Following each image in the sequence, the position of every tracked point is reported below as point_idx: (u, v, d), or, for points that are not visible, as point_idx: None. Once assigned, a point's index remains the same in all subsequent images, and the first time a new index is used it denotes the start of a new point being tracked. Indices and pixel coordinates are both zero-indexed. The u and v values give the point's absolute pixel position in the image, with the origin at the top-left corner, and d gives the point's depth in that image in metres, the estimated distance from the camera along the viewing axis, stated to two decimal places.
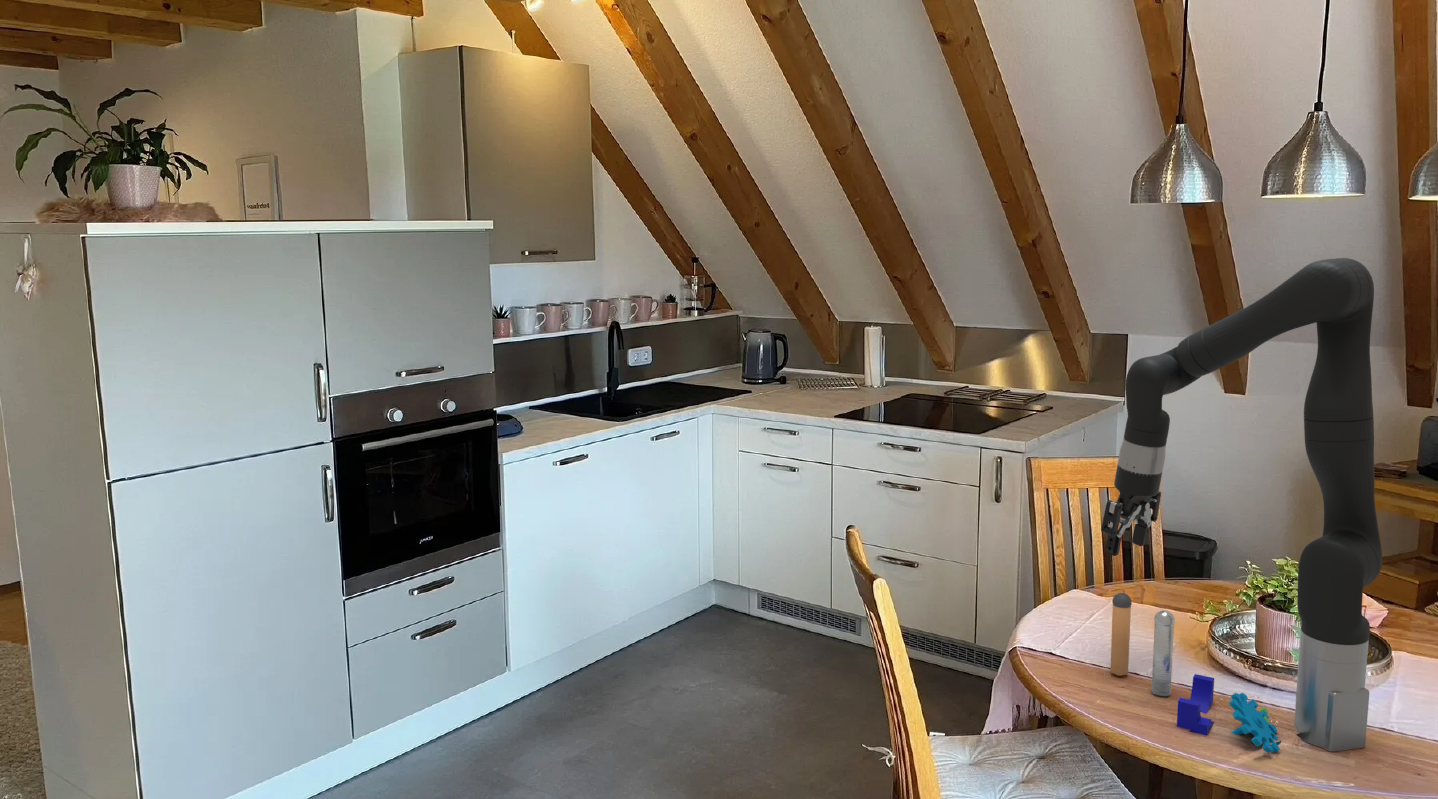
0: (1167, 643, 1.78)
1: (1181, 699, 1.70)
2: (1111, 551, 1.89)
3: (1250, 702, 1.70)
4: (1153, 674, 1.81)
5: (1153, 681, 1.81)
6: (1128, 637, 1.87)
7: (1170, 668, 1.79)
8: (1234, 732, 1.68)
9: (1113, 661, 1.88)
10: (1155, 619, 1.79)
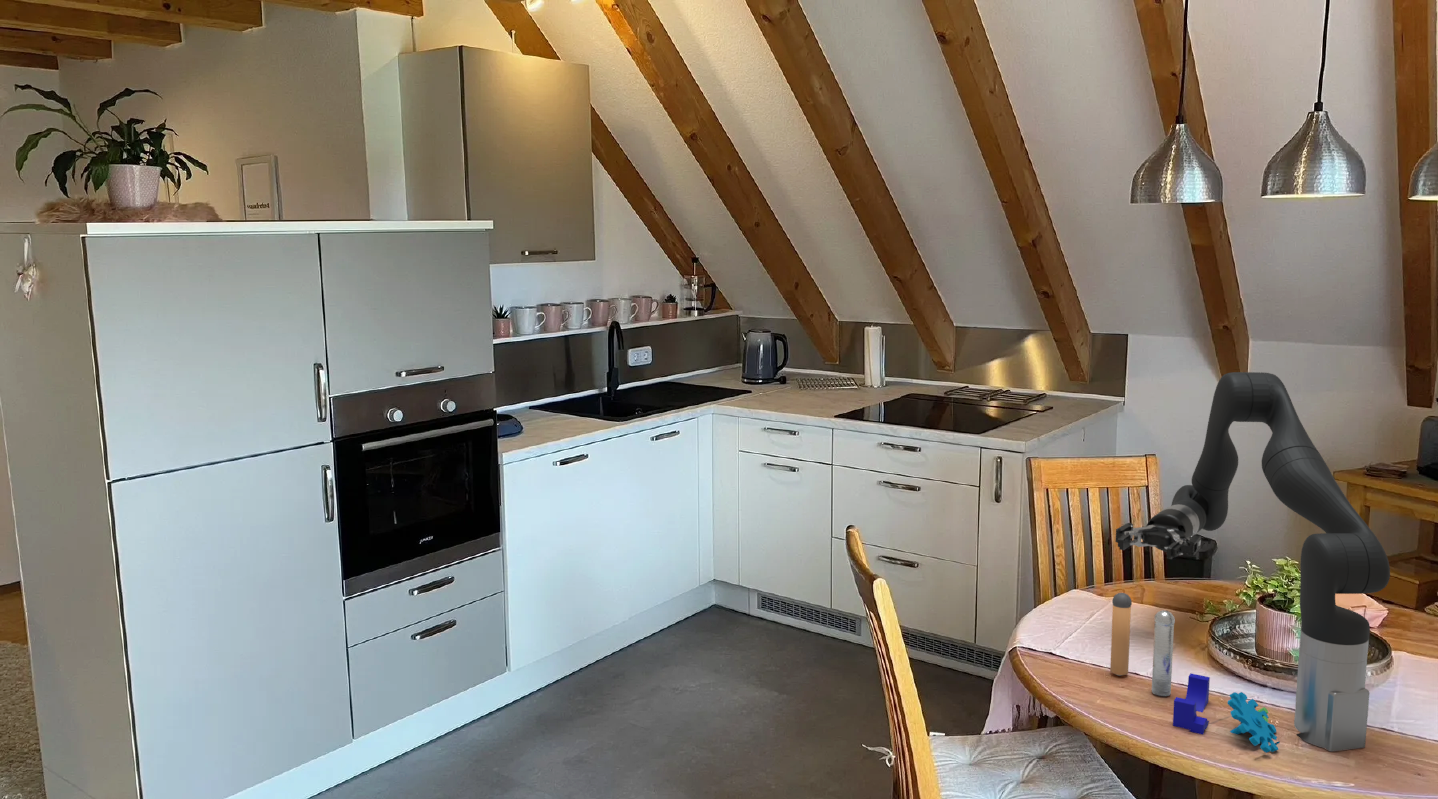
0: (1167, 643, 1.78)
1: (1177, 698, 1.70)
2: (1117, 540, 1.98)
3: (1249, 702, 1.70)
4: (1153, 674, 1.81)
5: (1153, 681, 1.81)
6: (1128, 637, 1.87)
7: (1170, 668, 1.79)
8: (1233, 731, 1.68)
9: (1113, 661, 1.88)
10: (1155, 619, 1.79)
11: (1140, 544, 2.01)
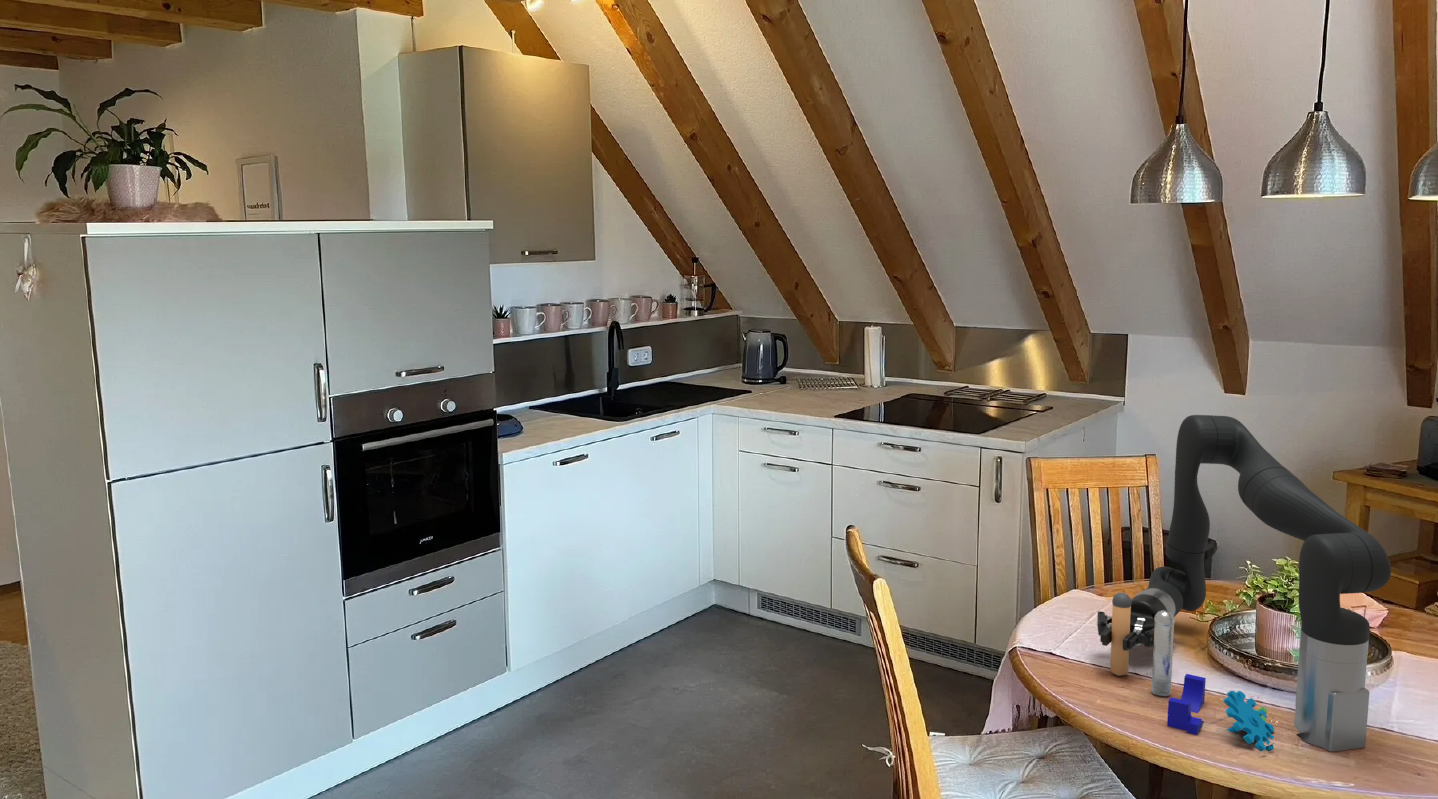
0: (1167, 643, 1.78)
1: (1172, 699, 1.70)
2: (1100, 635, 1.88)
3: (1248, 701, 1.70)
4: (1153, 674, 1.81)
5: (1153, 681, 1.81)
6: None
7: (1170, 668, 1.79)
8: (1229, 729, 1.69)
9: (1113, 661, 1.88)
10: (1155, 619, 1.79)
11: None
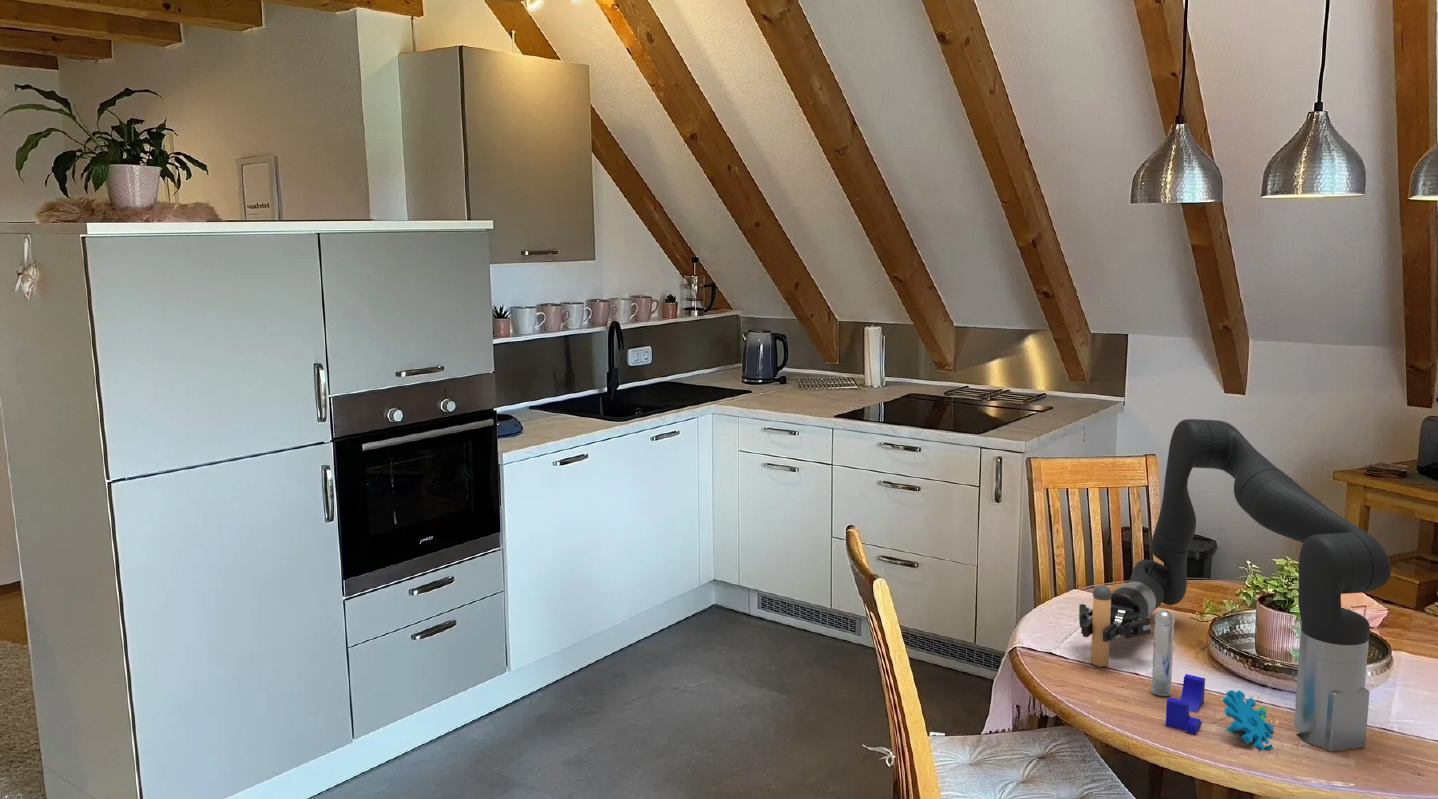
0: (1167, 643, 1.78)
1: (1170, 699, 1.70)
2: (1081, 627, 1.92)
3: (1248, 700, 1.70)
4: (1153, 674, 1.81)
5: (1153, 681, 1.81)
6: None
7: (1170, 668, 1.79)
8: (1229, 729, 1.69)
9: (1094, 652, 1.92)
10: (1155, 619, 1.79)
11: None
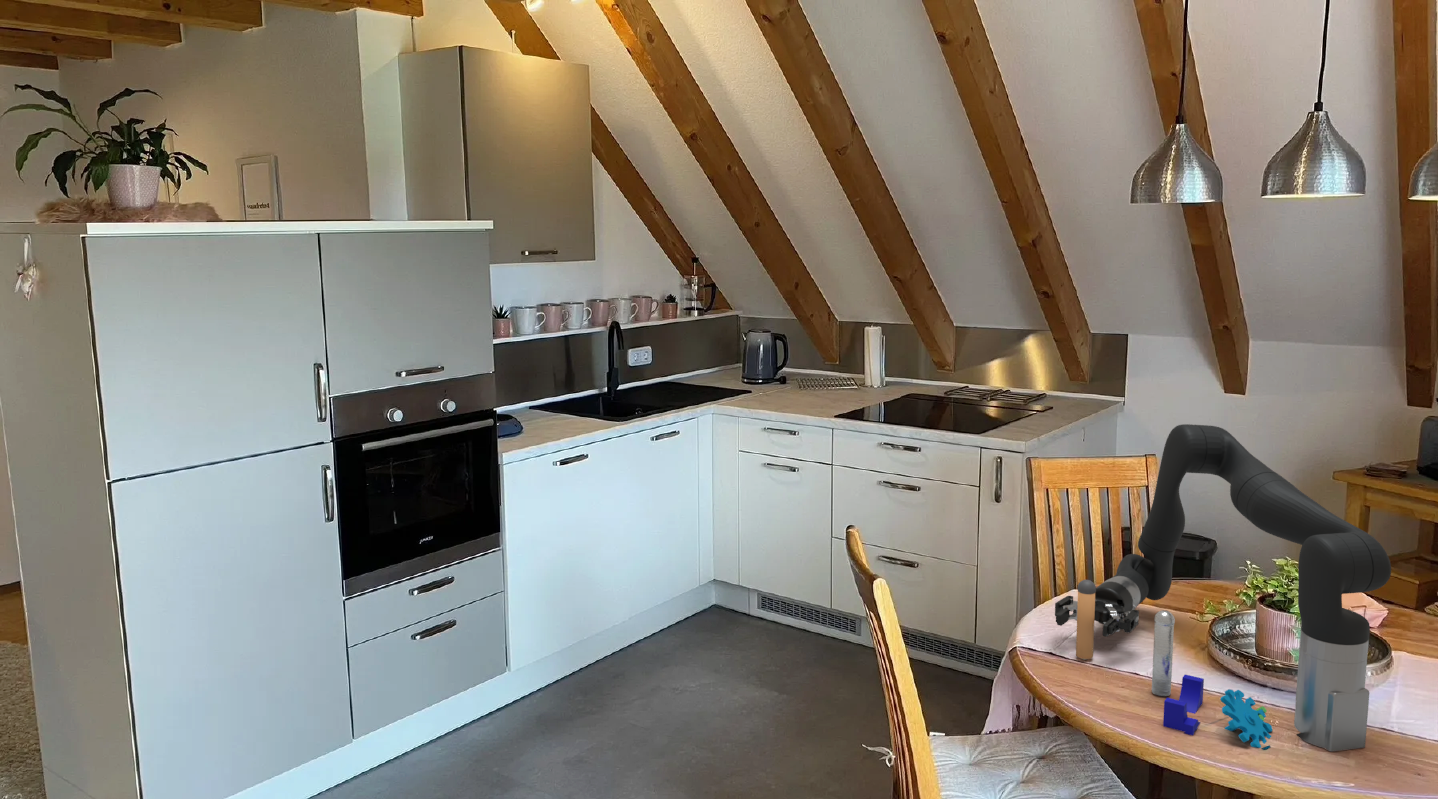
0: (1167, 643, 1.78)
1: (1168, 699, 1.70)
2: (1055, 615, 1.98)
3: (1247, 700, 1.71)
4: (1153, 674, 1.81)
5: (1153, 681, 1.81)
6: (1093, 622, 1.94)
7: (1170, 668, 1.79)
8: (1227, 728, 1.69)
9: (1078, 646, 1.95)
10: (1155, 619, 1.79)
11: None
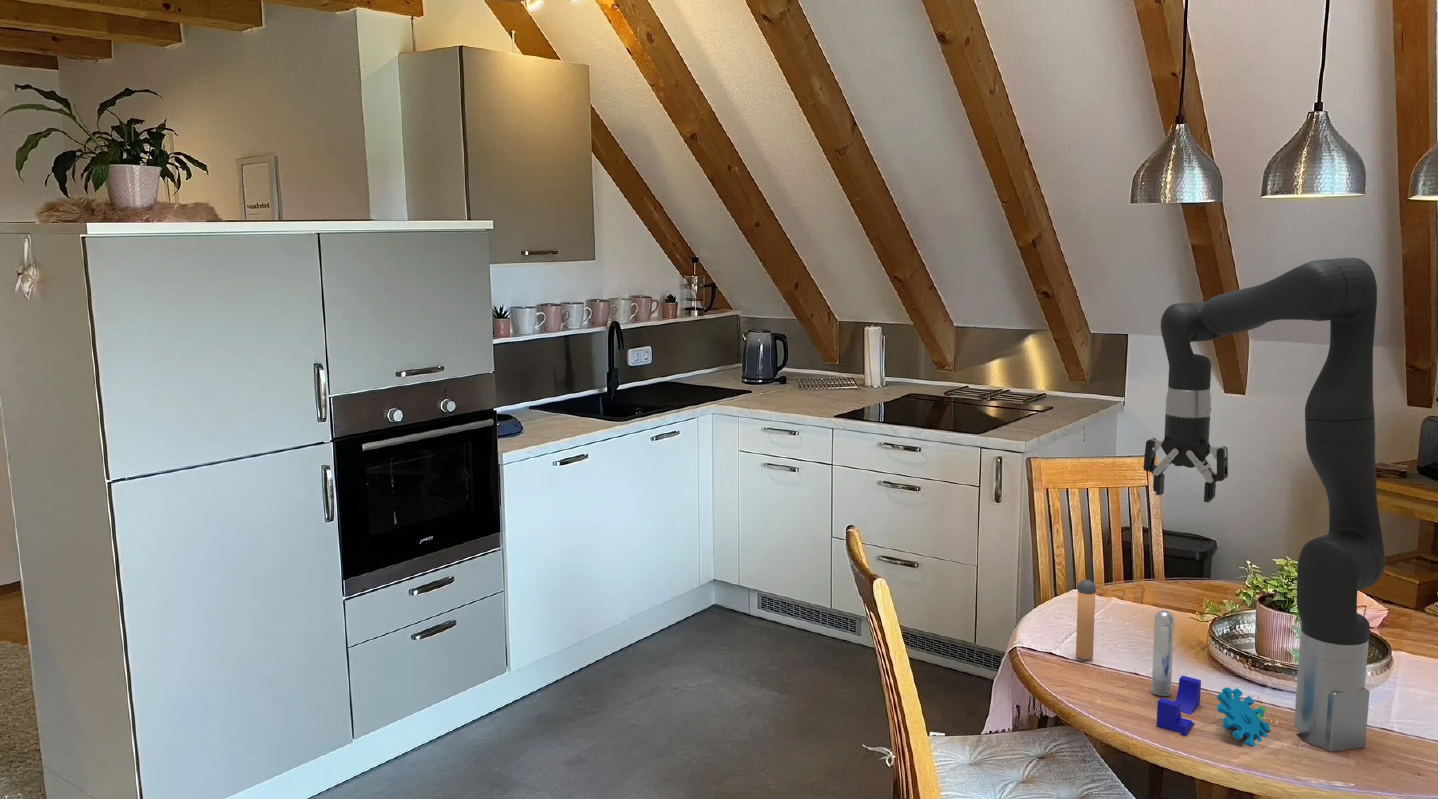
0: (1167, 643, 1.78)
1: (1161, 699, 1.70)
2: None
3: (1245, 699, 1.71)
4: (1153, 674, 1.81)
5: (1153, 681, 1.81)
6: (1093, 622, 1.94)
7: (1170, 668, 1.79)
8: (1223, 726, 1.70)
9: (1078, 646, 1.95)
10: (1155, 619, 1.79)
11: (1171, 463, 1.98)
